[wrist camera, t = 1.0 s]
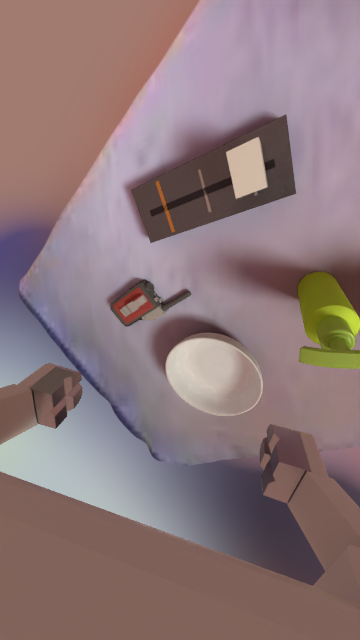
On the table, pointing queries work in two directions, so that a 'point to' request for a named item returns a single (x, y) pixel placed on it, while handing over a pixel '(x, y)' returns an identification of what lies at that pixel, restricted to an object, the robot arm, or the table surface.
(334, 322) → the soap dispenser
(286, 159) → the fader panel
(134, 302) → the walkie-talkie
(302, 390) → the table surface
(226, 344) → the serving bowl
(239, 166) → the fader knob
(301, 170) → the table surface
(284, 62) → the table surface
